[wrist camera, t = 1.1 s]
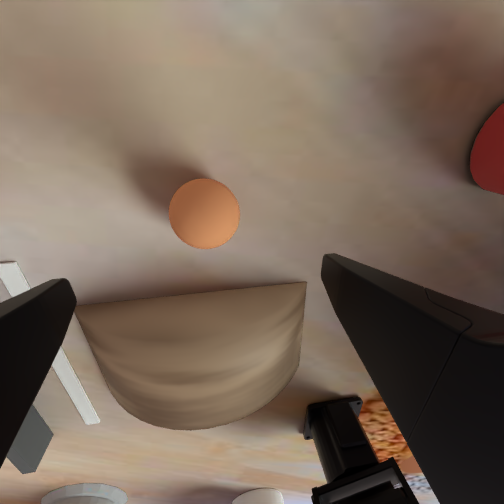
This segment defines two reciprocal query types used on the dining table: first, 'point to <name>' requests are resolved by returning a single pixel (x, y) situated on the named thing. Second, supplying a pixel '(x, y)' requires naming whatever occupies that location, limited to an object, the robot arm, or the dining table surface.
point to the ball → (204, 213)
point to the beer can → (489, 154)
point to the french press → (86, 495)
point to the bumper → (30, 443)
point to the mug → (260, 497)
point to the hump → (197, 352)
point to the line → (61, 364)
